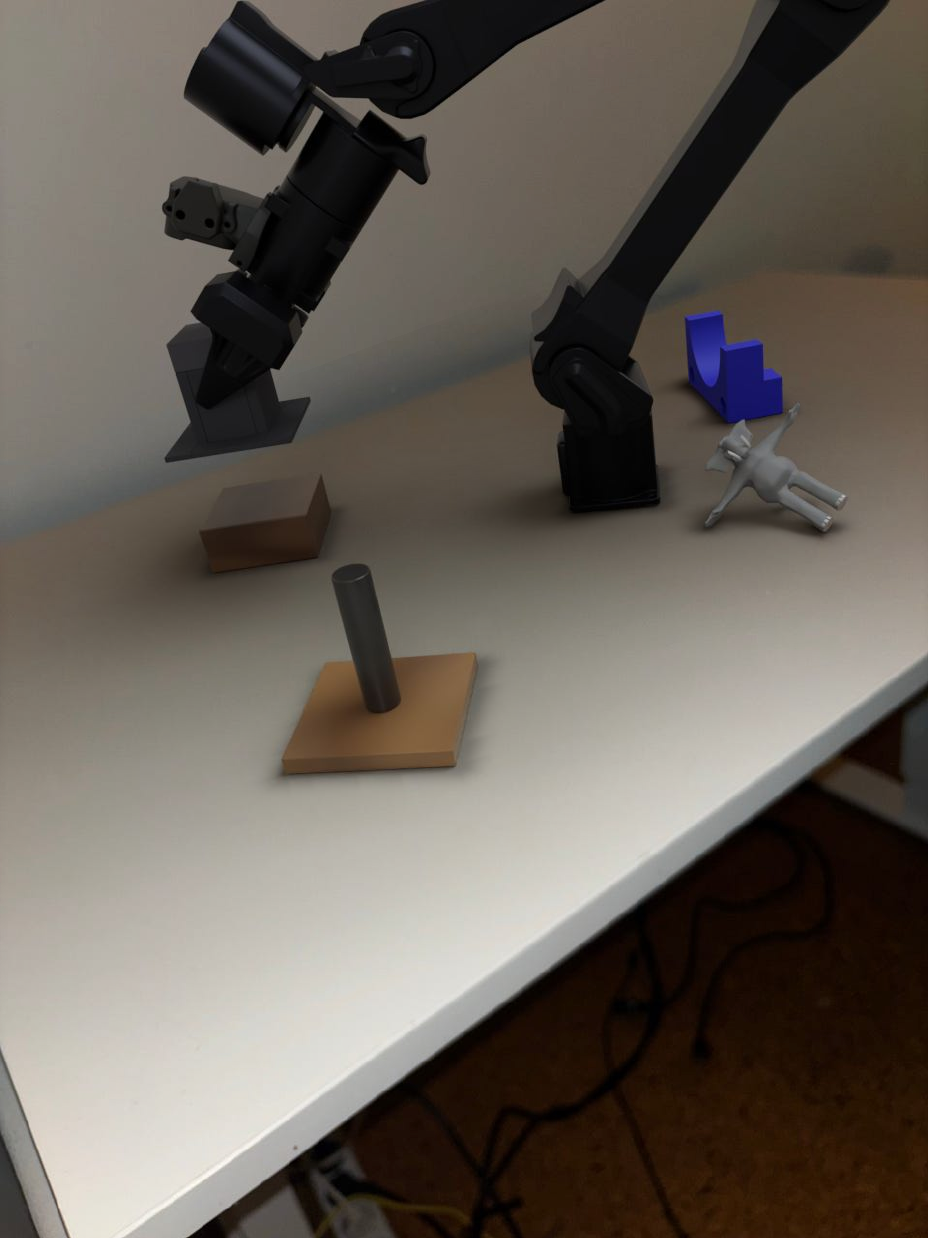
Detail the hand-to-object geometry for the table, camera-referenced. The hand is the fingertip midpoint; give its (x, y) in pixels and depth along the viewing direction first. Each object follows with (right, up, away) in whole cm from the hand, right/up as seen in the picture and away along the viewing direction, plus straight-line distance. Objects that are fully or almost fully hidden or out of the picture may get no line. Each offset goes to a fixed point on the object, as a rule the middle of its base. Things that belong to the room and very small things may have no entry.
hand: (210, 392), depth 73 cm
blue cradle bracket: (+41, +3, +16) cm, 45 cm away
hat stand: (+14, -21, -17) cm, 31 cm away
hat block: (+3, -10, +6) cm, 12 cm away
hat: (+2, -2, +1) cm, 3 cm away
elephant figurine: (+39, -9, -4) cm, 41 cm away
